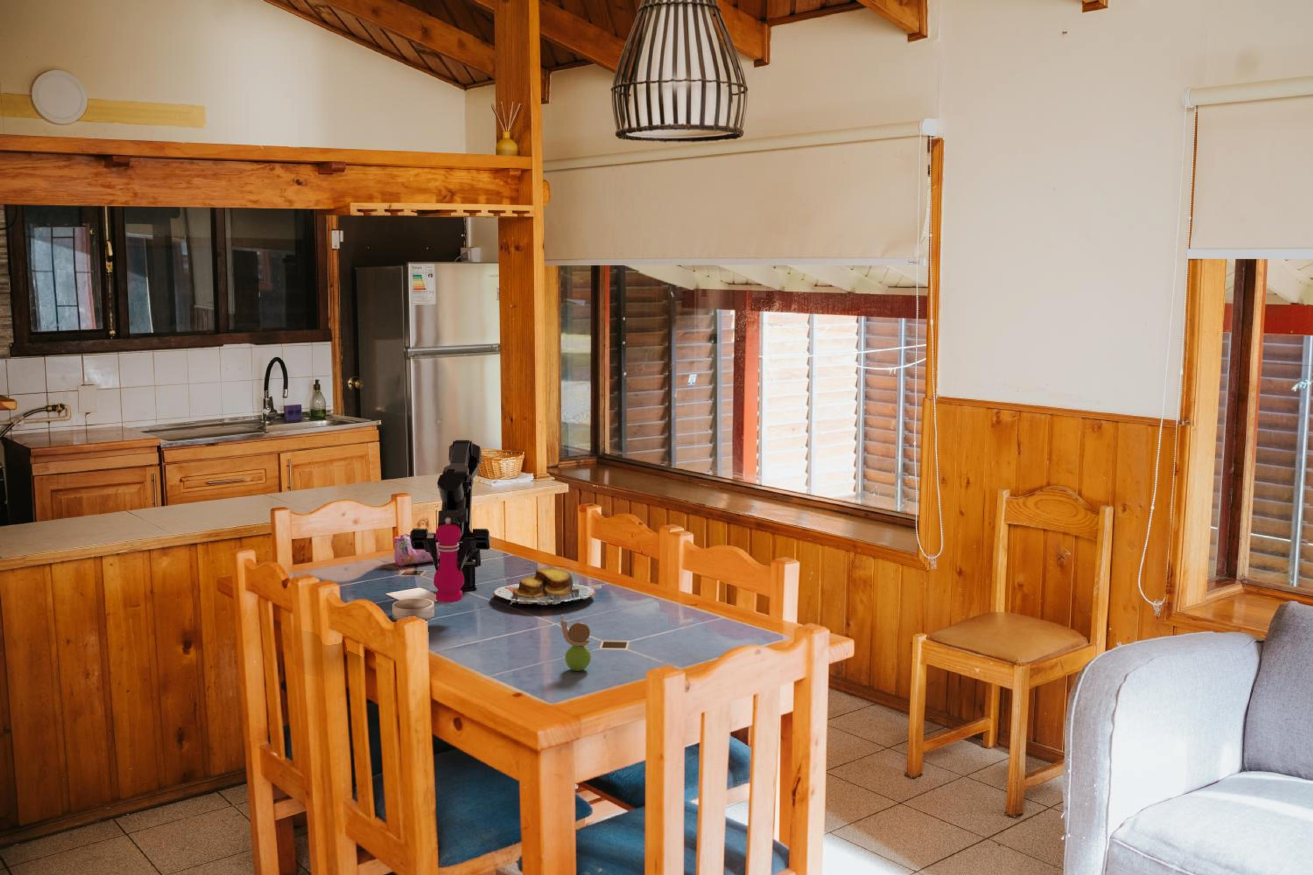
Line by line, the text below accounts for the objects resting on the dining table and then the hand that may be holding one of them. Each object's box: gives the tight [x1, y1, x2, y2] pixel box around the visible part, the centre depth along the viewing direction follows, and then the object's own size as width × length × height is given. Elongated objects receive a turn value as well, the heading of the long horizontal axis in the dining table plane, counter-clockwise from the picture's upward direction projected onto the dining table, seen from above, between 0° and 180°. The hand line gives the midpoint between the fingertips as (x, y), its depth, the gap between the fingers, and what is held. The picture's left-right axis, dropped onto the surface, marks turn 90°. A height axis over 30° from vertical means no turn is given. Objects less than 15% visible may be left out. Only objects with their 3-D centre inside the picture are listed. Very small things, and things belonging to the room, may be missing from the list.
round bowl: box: [391, 599, 435, 621], centre depth 286 cm, size 10×10×3 cm
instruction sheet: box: [385, 587, 438, 603], centre depth 303 cm, size 10×14×1 cm
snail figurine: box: [560, 614, 592, 672], centre depth 248 cm, size 5×6×12 cm
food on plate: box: [492, 567, 596, 606], centre depth 302 cm, size 26×26×7 cm
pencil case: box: [393, 532, 440, 566], centre depth 341 cm, size 21×9×9 cm, turn 129°
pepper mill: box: [433, 518, 464, 603], centre depth 280 cm, size 7×7×20 cm
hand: (447, 569), depth 279 cm, fingers closed on pepper mill, 5 cm apart
